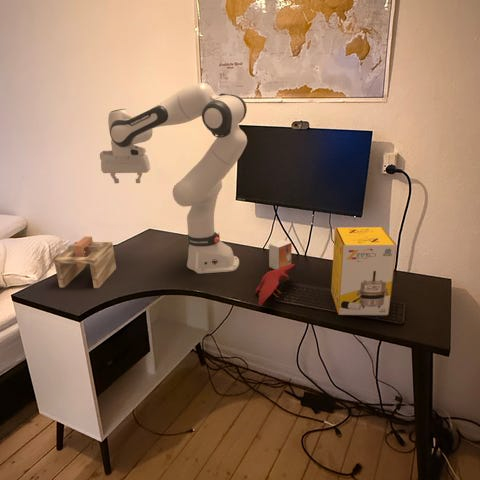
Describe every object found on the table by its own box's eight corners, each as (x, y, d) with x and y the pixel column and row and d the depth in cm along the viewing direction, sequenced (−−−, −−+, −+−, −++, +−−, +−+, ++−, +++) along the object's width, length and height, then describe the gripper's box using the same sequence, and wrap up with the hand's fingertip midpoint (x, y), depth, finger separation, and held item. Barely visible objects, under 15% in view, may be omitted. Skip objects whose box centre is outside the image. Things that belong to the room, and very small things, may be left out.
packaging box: (376, 291, 148) (382, 227, 139) (388, 315, 133) (396, 244, 124) (331, 291, 149) (334, 227, 140) (338, 315, 134) (343, 245, 125)
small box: (278, 271, 166) (278, 247, 163) (268, 267, 170) (268, 244, 166) (291, 265, 171) (292, 242, 167) (281, 261, 175) (282, 238, 171)
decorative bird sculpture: (252, 324, 138) (281, 302, 130) (234, 304, 139) (261, 280, 131) (281, 288, 162) (307, 267, 154) (265, 271, 162) (290, 249, 154)
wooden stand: (116, 268, 174) (111, 237, 169) (98, 288, 157) (93, 255, 152) (80, 267, 175) (74, 237, 170) (59, 287, 159) (52, 254, 154)
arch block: (84, 267, 159) (80, 245, 156) (77, 266, 159) (73, 245, 156) (95, 256, 168) (91, 236, 165) (88, 256, 169) (84, 236, 165)
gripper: (95, 151, 166) (101, 185, 171) (144, 151, 164) (148, 184, 169) (102, 149, 172) (107, 181, 177) (149, 148, 170) (152, 181, 175)
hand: (127, 183), depth 173 cm, fingers open, 8 cm apart
